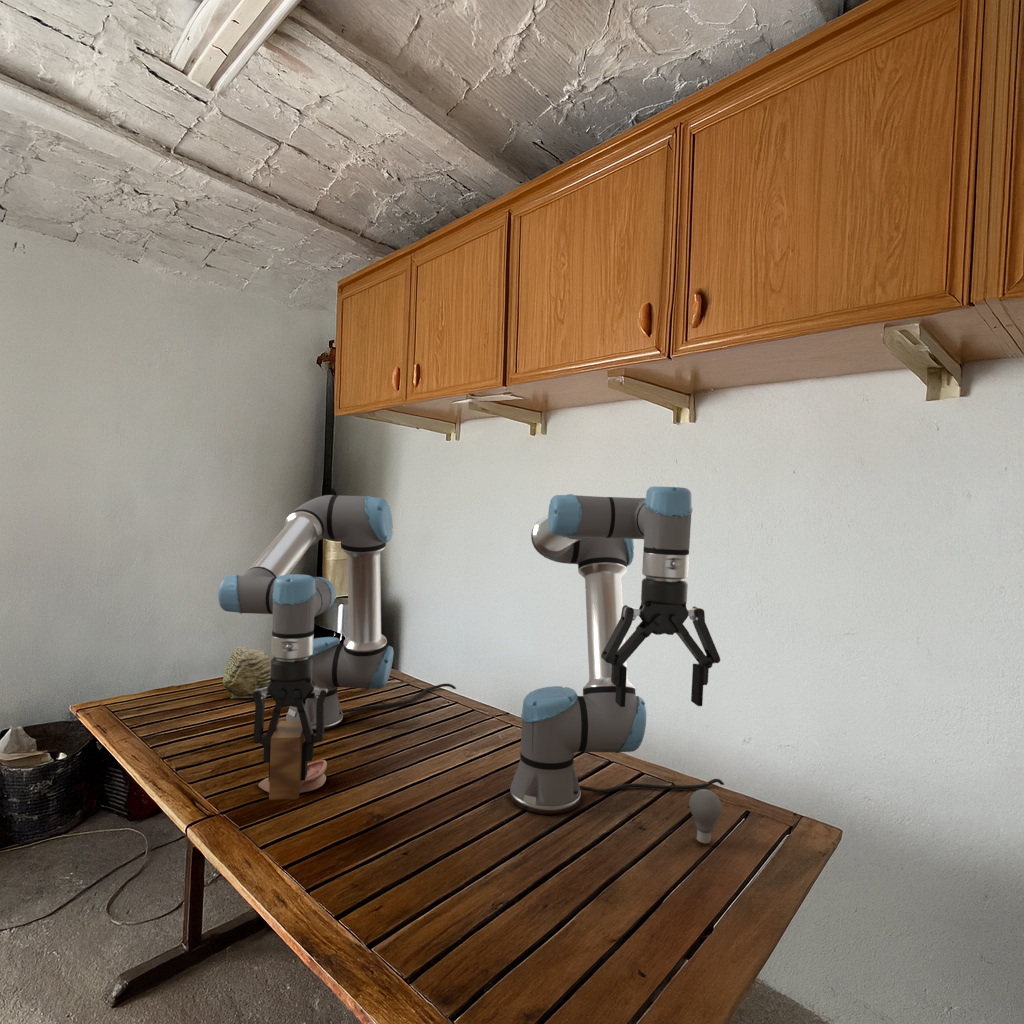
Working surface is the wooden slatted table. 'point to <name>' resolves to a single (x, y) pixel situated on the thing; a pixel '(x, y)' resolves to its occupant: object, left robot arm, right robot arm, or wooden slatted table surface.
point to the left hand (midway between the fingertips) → (288, 777)
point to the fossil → (247, 672)
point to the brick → (286, 761)
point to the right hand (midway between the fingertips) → (658, 704)
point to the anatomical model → (307, 777)
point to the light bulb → (705, 812)
